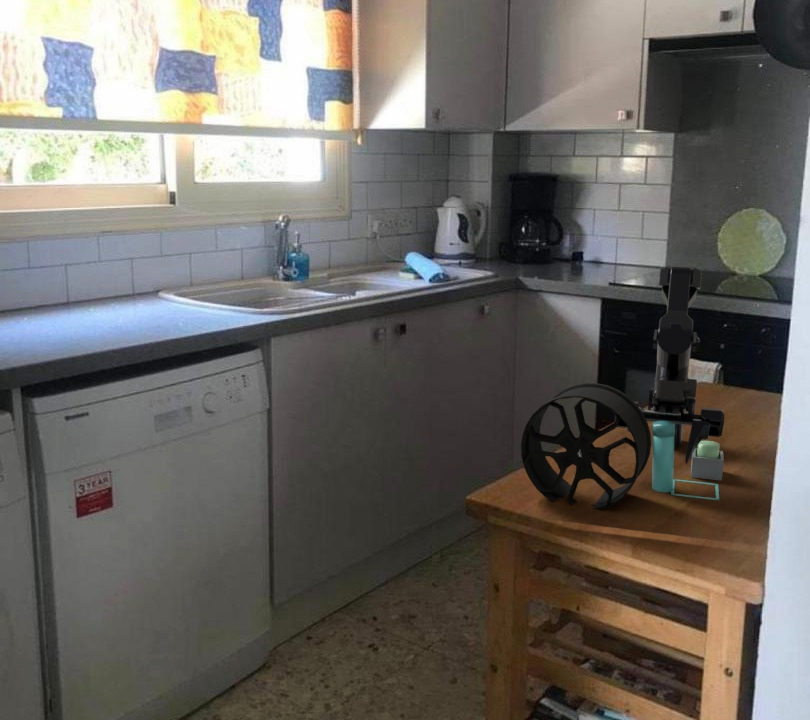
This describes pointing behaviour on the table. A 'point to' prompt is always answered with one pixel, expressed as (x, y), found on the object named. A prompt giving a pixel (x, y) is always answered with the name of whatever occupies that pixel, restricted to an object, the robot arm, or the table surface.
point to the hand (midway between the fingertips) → (664, 460)
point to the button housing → (707, 467)
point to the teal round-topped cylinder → (663, 456)
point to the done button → (708, 449)
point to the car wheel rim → (584, 445)
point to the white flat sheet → (697, 496)
